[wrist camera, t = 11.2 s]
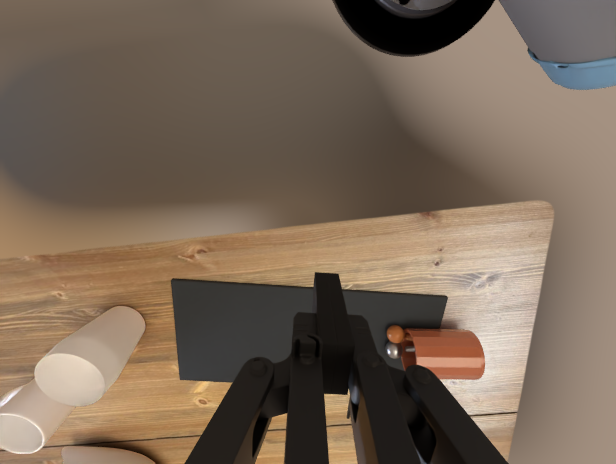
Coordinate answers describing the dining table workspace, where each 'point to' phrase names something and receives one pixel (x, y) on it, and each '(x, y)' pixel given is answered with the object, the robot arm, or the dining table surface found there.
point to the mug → (29, 418)
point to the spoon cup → (445, 352)
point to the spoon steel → (397, 349)
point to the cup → (90, 358)
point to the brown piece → (397, 334)
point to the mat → (274, 322)
